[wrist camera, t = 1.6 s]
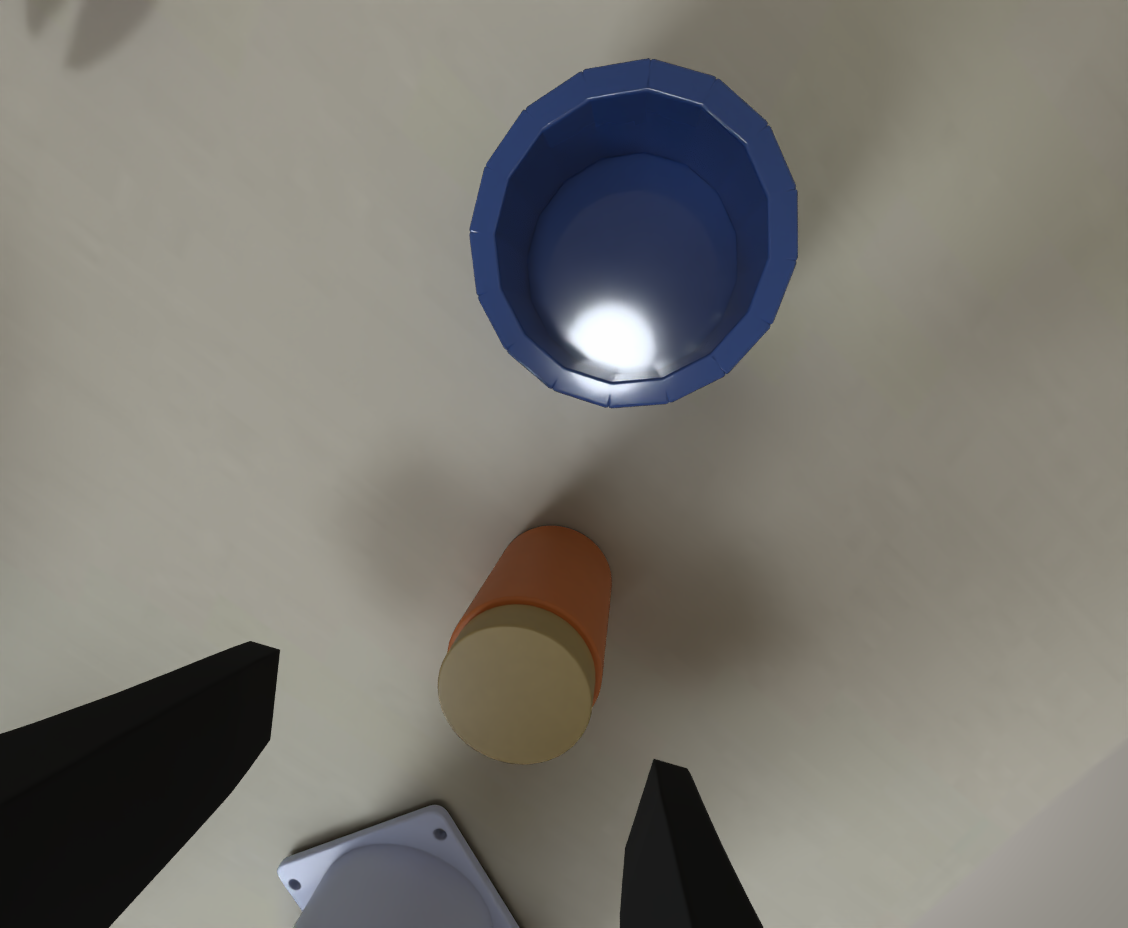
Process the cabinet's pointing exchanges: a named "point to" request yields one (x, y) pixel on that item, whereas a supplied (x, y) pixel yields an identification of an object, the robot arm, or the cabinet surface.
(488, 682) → the cream-capped orange cylinder
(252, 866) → the cabinet surface
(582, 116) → the cup
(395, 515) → the cabinet surface
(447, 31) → the cabinet surface
